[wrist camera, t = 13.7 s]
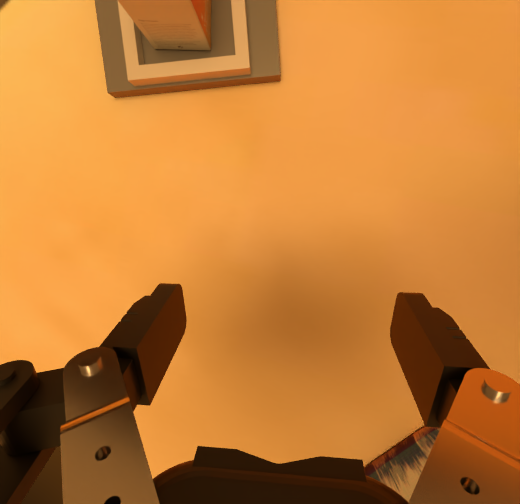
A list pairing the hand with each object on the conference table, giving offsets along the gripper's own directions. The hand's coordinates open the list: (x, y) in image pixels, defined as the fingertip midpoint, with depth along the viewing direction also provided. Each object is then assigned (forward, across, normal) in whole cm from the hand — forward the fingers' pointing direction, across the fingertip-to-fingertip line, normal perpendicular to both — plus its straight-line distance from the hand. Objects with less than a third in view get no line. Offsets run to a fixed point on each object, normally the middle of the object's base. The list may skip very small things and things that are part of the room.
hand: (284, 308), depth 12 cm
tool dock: (+27, +10, -15) cm, 33 cm away
